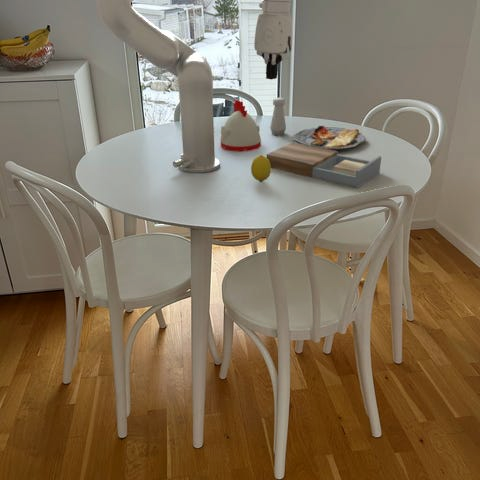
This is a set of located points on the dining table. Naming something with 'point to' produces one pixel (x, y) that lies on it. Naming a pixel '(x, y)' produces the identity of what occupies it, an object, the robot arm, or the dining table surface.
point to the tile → (348, 167)
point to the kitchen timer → (240, 131)
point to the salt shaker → (278, 117)
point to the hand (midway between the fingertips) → (271, 78)
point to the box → (362, 174)
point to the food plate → (329, 137)
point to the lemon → (261, 168)
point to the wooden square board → (299, 158)
